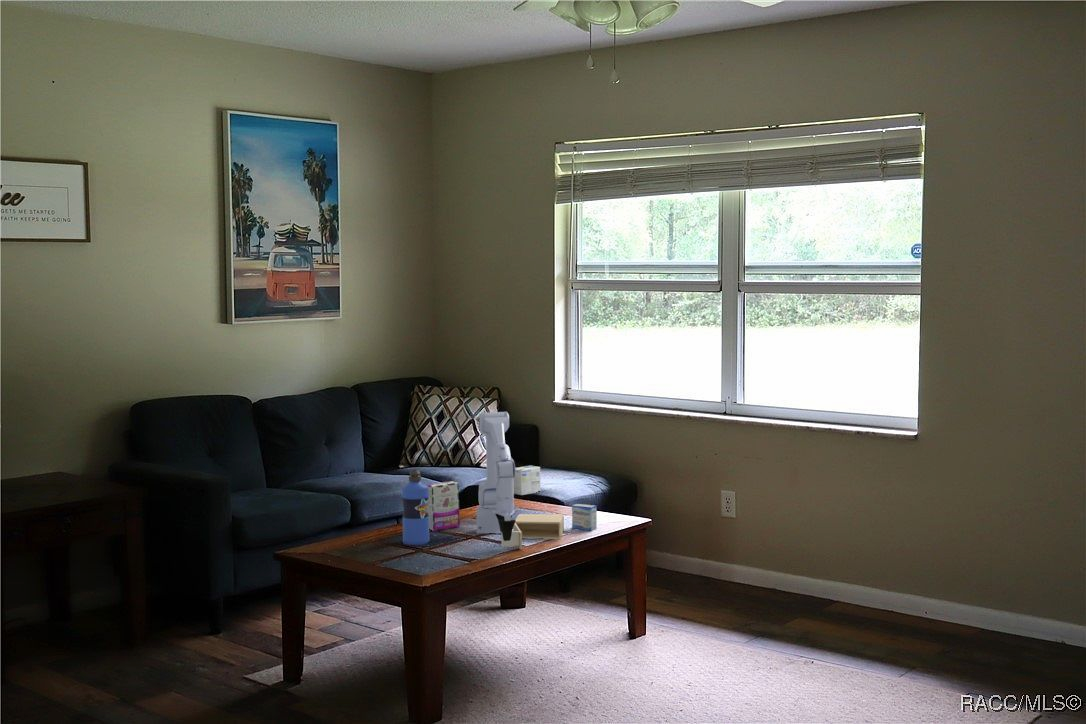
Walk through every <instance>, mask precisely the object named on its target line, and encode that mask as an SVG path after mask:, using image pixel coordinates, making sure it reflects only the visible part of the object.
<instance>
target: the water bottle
mask: <svg viewBox="0 0 1086 724" xmlns="http://www.w3.org/2000/svg"><path fill="white" fill-rule="evenodd" d="M408 474H409V476H408V483H407V484H405V485H403V486H401V491H400V492H401V493H400V494H401V500H402V507H403V510H402V543H403V544H404V545H407V546H420V545H421V546H422V545H425V544H426V543H427V544H429V543H430V530H429V514H428V508H427V507H428V496H429V486H427V485H428V484H424V483H423V482H422V476H421V472H420V471H419V470H418V469H416V468H415V469H411V471H409V472H408ZM428 542H429V543H428Z"/></svg>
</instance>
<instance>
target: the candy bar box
mask: <svg viewBox="0 0 1086 724" xmlns="http://www.w3.org/2000/svg"><path fill="white" fill-rule="evenodd" d="M426 485H427V486H429V496H428V507H427V508H428V514H429V529H430V530H429V531H431V530H432V532H438V530H440V531H445V530H448V529H449V530H450V528H451V529H455V528H456V529H457V528H460V526H461V525H460V519H461V518H460V500H459V499H460V494H459V493H460V491H459V482H456V481H453V480H451V481H443V482H437V483H430V484H426ZM444 529H445V530H444Z"/></svg>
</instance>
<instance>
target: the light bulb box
mask: <svg viewBox="0 0 1086 724" xmlns="http://www.w3.org/2000/svg"><path fill="white" fill-rule="evenodd" d="M513 479H514V495H519V496H524V495H531V494H535V493H536V492H537V493H539V492H538V491H541V466H535V465H525V466H520V467H515V478H513ZM537 493H536V494H537Z"/></svg>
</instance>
